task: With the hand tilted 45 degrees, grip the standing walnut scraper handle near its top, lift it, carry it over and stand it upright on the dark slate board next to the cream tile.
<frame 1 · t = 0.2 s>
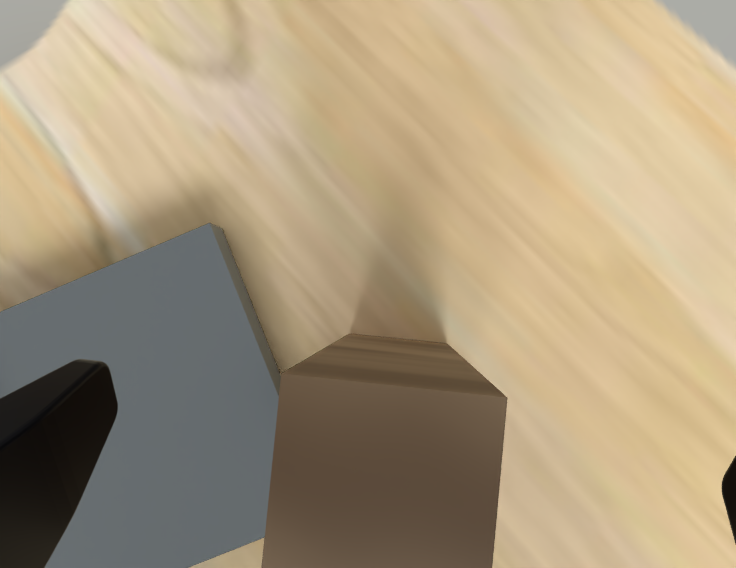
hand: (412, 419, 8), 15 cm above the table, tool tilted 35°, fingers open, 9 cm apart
slate board: (99, 434, 23), on the table
walnut handle: (393, 387, 23), on the table
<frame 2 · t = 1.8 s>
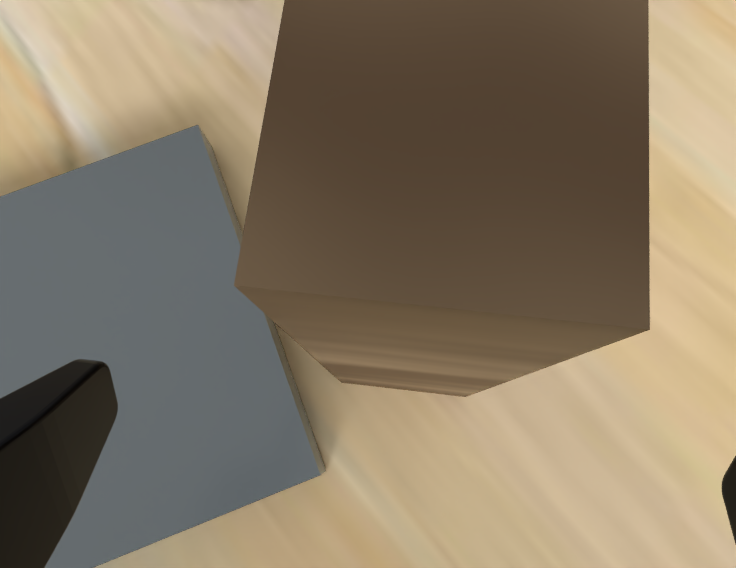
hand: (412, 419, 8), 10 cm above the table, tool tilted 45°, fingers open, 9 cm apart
slate board: (35, 384, 18), on the table
walnut handle: (409, 328, 18), on the table
when the fingers open (9 cm above the table, at t = 6.6 s): walnut handle stays where it is, resting on slate board.
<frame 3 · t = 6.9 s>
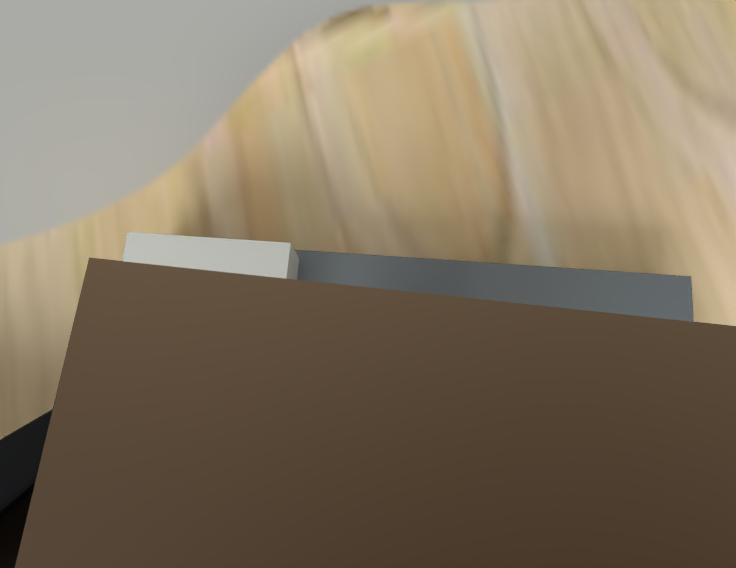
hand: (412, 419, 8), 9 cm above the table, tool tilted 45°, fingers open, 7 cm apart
slate board: (395, 467, 16), on the table
tile on board: (213, 328, 16), point 1 cm above the table, touching slate board
walnut handle: (395, 472, 15), point 1 cm above the table, touching slate board
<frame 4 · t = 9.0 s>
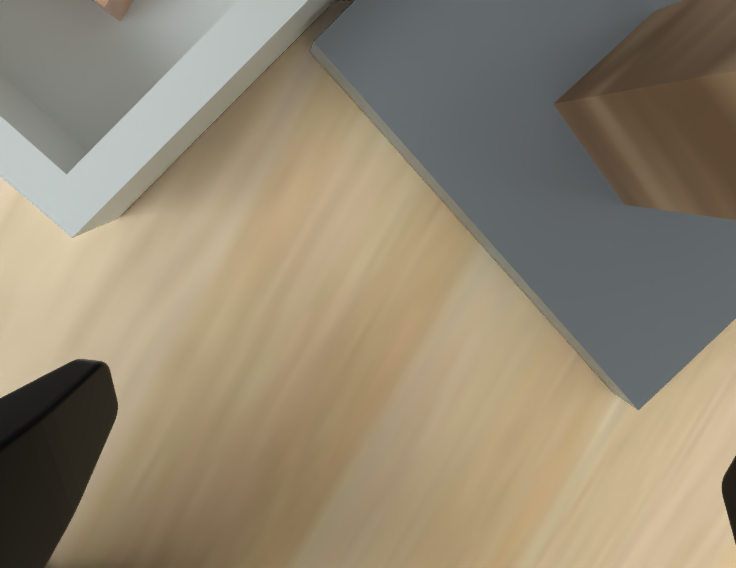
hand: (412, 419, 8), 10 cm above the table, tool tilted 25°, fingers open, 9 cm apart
slate board: (610, 114, 19), on the table
walnut handle: (639, 111, 17), point 1 cm above the table, touching slate board
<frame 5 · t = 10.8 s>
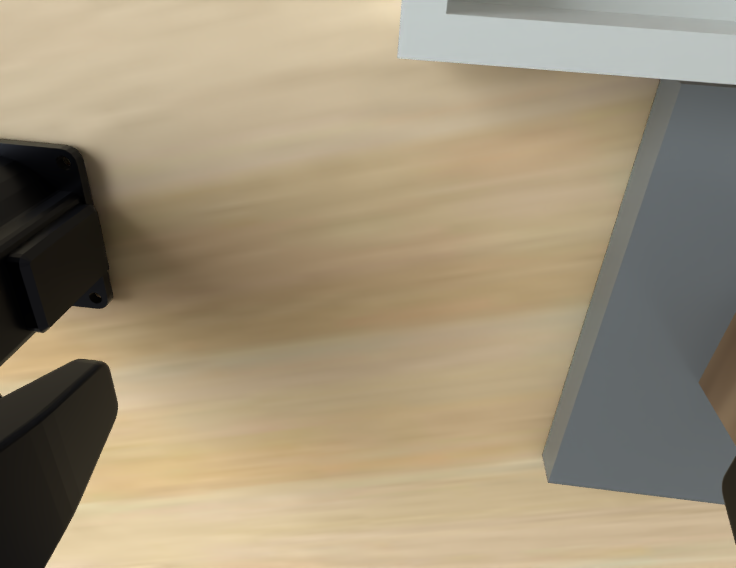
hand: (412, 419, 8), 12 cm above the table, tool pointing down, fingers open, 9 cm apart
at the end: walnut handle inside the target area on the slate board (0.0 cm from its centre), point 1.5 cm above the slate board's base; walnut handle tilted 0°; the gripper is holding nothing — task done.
